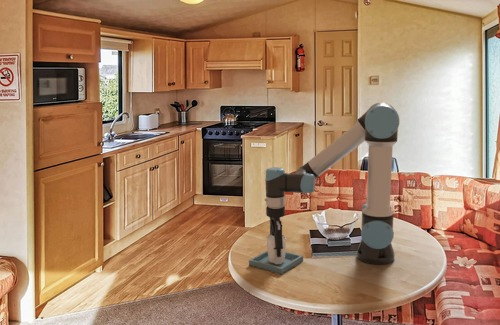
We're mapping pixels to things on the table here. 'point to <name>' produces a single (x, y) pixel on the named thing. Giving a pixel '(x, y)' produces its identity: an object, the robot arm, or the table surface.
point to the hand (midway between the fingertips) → (276, 259)
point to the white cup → (272, 245)
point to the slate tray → (263, 263)
